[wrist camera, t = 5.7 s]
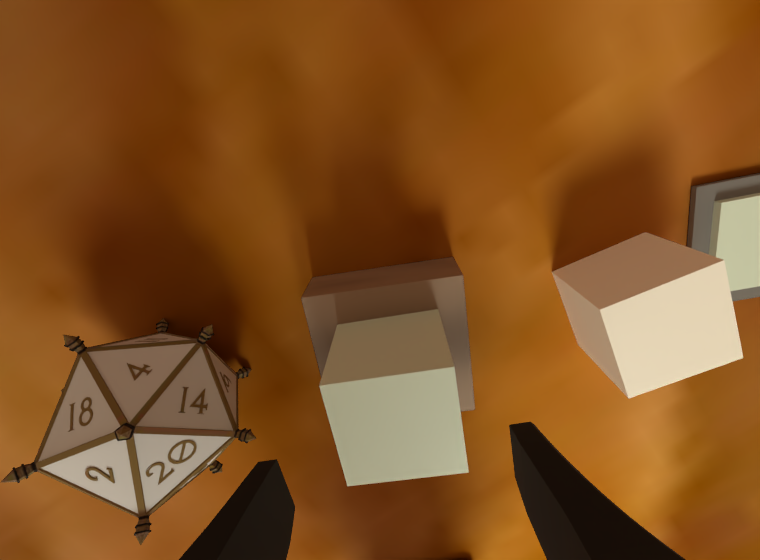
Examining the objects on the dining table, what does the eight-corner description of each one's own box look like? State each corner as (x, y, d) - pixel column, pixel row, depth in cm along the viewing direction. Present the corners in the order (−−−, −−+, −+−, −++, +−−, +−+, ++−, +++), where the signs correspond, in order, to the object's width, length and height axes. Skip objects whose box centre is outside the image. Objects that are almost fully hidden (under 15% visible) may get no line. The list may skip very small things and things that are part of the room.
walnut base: (463, 373, 21) (475, 409, 18) (340, 388, 22) (333, 425, 19) (451, 254, 19) (463, 274, 16) (313, 274, 19) (301, 297, 16)
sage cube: (450, 394, 18) (468, 472, 14) (357, 406, 18) (347, 486, 14) (437, 308, 16) (454, 366, 12) (337, 324, 17) (319, 385, 13)
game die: (225, 303, 23) (214, 270, 14) (275, 432, 23) (297, 484, 14) (54, 364, 20) (-107, 371, 11) (110, 516, 20) (-8, 658, 10)
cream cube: (664, 309, 19) (743, 357, 15) (577, 343, 20) (628, 398, 16) (644, 231, 18) (724, 259, 14) (551, 271, 18) (599, 309, 14)
